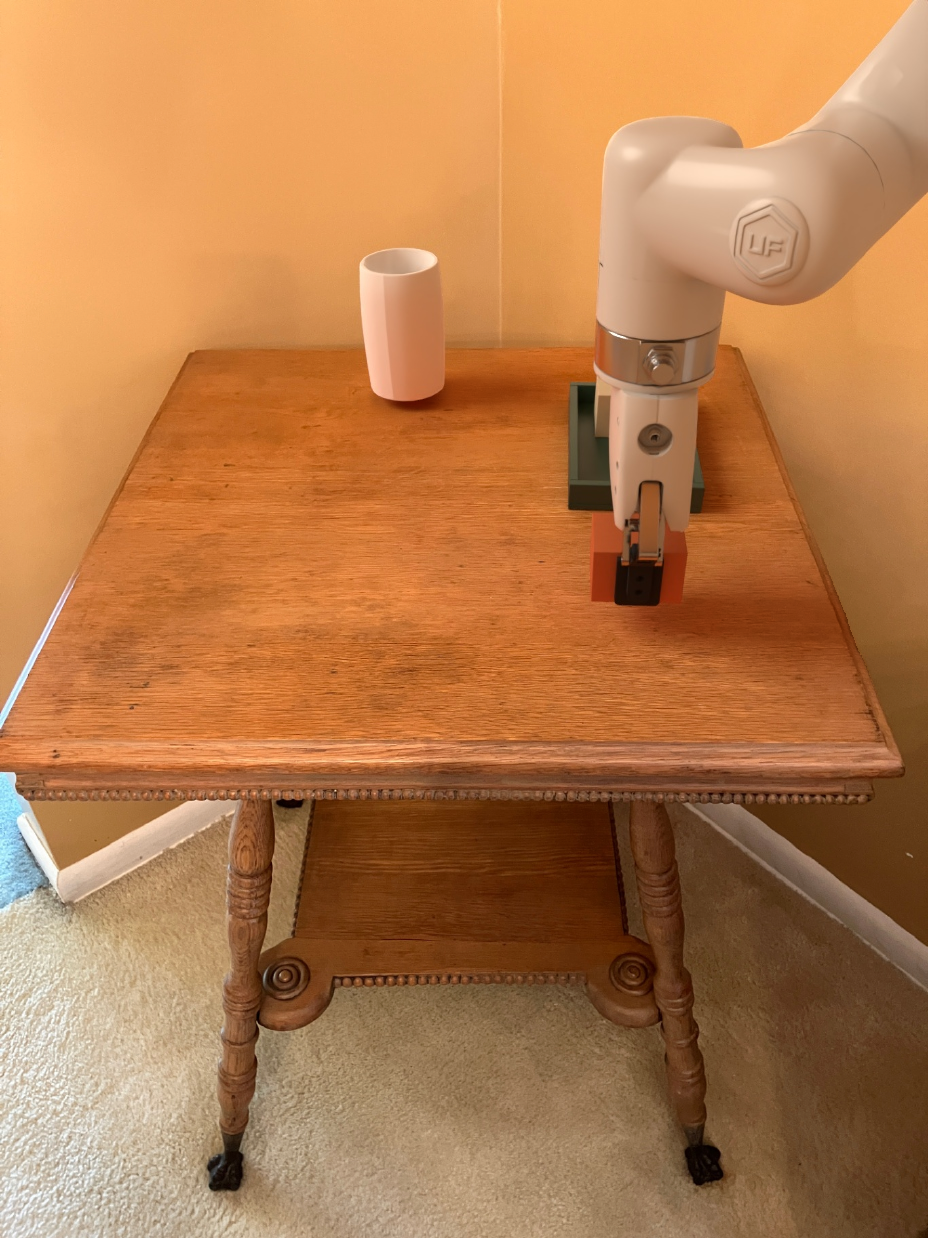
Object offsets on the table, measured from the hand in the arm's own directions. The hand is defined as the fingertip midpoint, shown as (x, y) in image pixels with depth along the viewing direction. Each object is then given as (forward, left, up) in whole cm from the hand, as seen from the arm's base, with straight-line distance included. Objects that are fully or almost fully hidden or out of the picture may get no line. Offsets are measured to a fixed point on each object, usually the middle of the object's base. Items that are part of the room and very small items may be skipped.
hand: (634, 576), depth 68 cm
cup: (+41, -8, -4) cm, 41 cm away
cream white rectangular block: (+20, -20, -3) cm, 28 cm away
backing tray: (+17, -17, -3) cm, 24 cm away
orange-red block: (0, 0, 0) cm, 0 cm away
